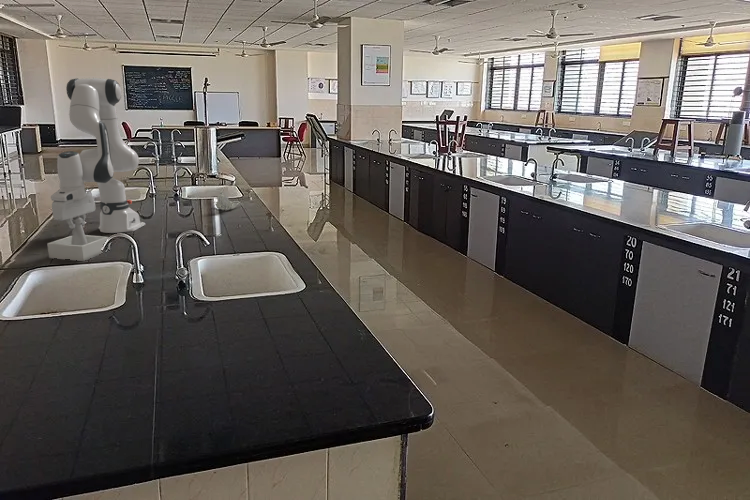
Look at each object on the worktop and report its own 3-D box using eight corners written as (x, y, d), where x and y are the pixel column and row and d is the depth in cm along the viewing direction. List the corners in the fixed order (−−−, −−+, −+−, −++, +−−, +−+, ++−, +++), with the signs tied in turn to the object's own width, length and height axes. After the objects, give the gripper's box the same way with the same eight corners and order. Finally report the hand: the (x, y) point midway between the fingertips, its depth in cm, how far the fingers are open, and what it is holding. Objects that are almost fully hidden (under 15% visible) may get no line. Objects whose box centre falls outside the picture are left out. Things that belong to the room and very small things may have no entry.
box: (77, 247, 247) (75, 234, 246) (110, 250, 244) (108, 236, 242) (49, 258, 232) (47, 243, 231) (83, 261, 229) (82, 246, 227)
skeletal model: (242, 205, 343) (237, 182, 321) (241, 219, 339) (237, 196, 316) (214, 205, 341) (208, 181, 319) (213, 219, 337) (206, 195, 314)
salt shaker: (73, 247, 239) (69, 216, 236) (88, 246, 241) (84, 215, 238) (71, 251, 234) (67, 219, 231) (87, 250, 236) (83, 218, 233)
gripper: (84, 188, 242) (87, 220, 246) (47, 196, 223) (52, 231, 226) (97, 189, 241) (100, 221, 244) (61, 197, 221) (65, 233, 225)
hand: (77, 226), depth 235 cm, fingers closed on salt shaker, 4 cm apart
